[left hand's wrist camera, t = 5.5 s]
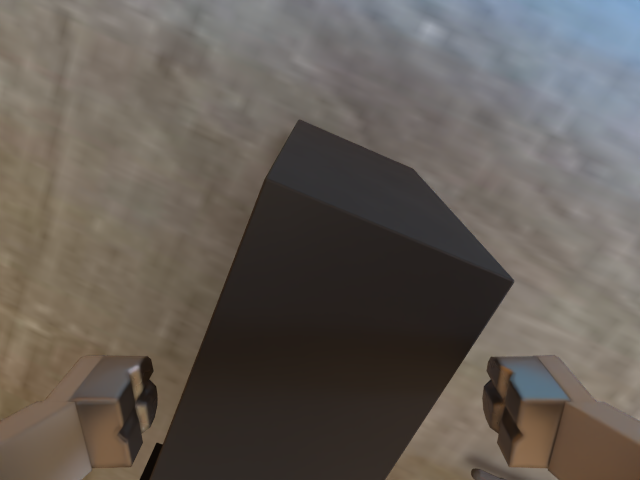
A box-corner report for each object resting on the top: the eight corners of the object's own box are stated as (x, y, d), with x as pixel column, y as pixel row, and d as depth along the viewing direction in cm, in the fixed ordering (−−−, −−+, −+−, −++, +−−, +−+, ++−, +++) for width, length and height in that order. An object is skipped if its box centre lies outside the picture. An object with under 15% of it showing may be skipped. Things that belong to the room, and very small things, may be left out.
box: (298, 118, 21) (265, 177, 9) (414, 169, 21) (516, 281, 10) (160, 471, 29) (51, 734, 17) (247, 497, 30) (198, 766, 18)
